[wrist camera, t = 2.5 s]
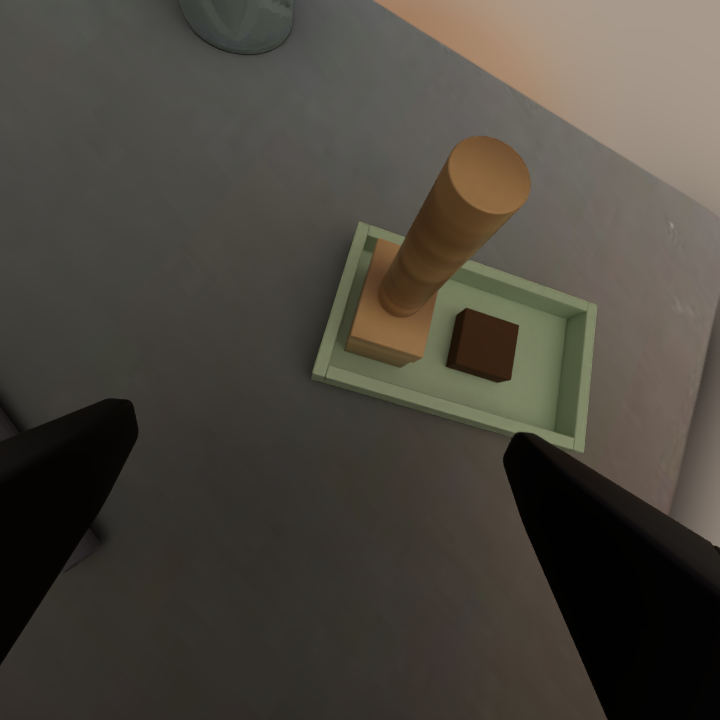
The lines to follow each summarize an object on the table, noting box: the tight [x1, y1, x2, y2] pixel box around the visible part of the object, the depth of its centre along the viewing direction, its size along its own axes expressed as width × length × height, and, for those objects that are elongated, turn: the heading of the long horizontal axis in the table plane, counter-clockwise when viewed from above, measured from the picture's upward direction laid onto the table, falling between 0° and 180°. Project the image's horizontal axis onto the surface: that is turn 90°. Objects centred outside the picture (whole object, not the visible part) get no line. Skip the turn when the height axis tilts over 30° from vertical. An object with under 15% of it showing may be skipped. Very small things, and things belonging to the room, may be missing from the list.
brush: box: [344, 136, 531, 368], centre depth 15 cm, size 6×4×13 cm
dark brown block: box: [446, 308, 519, 383], centre depth 22 cm, size 4×4×2 cm
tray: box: [311, 222, 597, 453], centre depth 22 cm, size 18×11×2 cm, turn 75°
